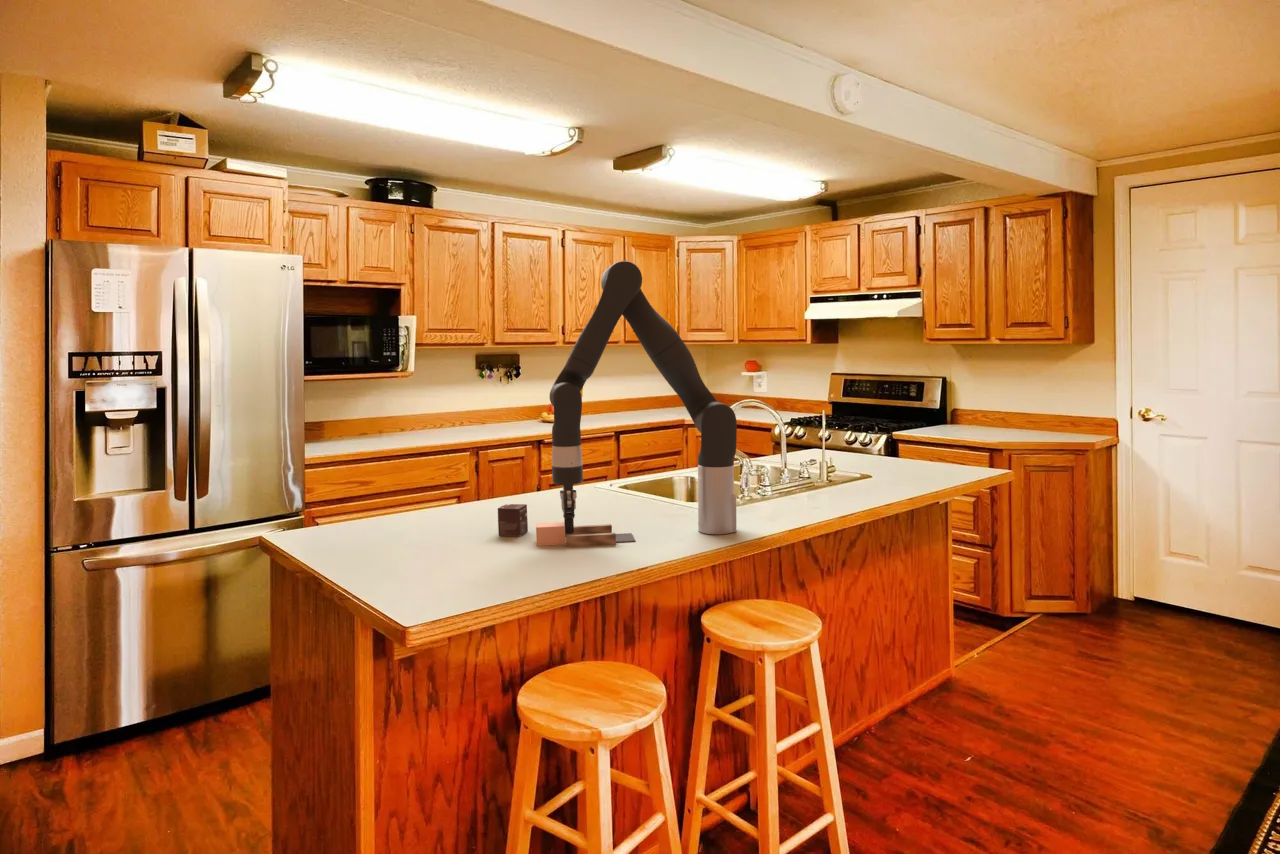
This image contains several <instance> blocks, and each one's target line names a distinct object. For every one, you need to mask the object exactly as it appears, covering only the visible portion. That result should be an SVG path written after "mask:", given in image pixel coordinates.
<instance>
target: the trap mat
mask: <svg viewBox="0 0 1280 854" xmlns="http://www.w3.org/2000/svg"><path fill="white" fill-rule="evenodd" d="M615 534H616V544H618V543H619V544H620V543H635V542H636V539H635V537H634V535H633V534H632V532H630V533H629V532H627V533H626V532H625V533H615Z"/></svg>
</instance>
